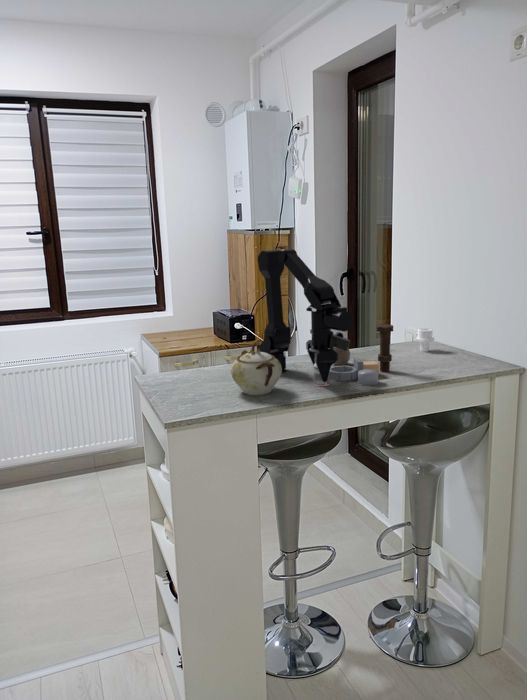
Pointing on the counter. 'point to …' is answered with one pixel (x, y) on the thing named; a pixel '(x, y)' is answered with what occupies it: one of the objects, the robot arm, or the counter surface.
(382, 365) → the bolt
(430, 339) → the pipe fitting
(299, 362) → the counter surface
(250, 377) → the sugar bowl
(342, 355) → the vase
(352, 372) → the octagonal ring stamp
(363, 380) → the grey rounded lump
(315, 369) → the pill bottle
